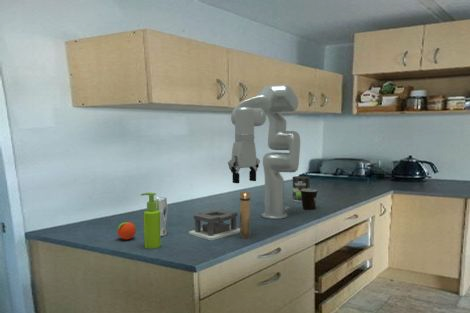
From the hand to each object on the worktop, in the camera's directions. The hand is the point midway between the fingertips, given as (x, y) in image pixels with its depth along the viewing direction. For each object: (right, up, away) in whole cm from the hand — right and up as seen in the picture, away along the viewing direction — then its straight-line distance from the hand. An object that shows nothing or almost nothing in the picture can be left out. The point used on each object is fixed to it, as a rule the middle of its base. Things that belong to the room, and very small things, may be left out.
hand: (244, 182), depth 153 cm
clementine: (-47, -23, 0) cm, 52 cm away
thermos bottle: (0, -22, +2) cm, 22 cm away
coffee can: (+36, -17, +79) cm, 88 cm away
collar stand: (-12, -22, +8) cm, 26 cm away
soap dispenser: (-35, -24, -9) cm, 43 cm away
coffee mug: (+35, -18, +54) cm, 66 cm away
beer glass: (-35, -22, +6) cm, 42 cm away
